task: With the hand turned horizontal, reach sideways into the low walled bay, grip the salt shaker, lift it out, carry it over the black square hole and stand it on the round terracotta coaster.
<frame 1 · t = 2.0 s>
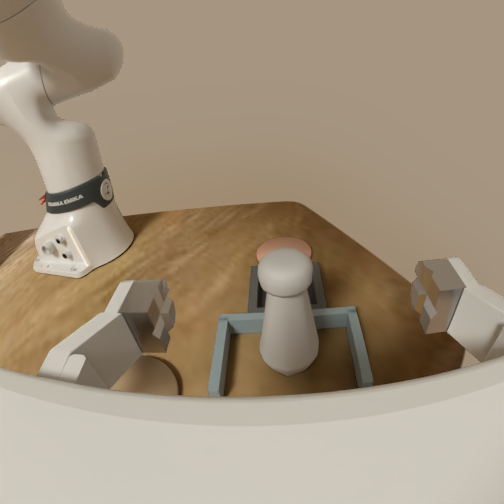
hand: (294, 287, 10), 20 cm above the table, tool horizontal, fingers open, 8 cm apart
cork trivet: (135, 398, 29), on the table
salt shaker: (289, 360, 31), on the table
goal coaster: (284, 255, 47), on the table
hole frame: (286, 295, 39), on the table
cubby bay: (289, 359, 31), on the table
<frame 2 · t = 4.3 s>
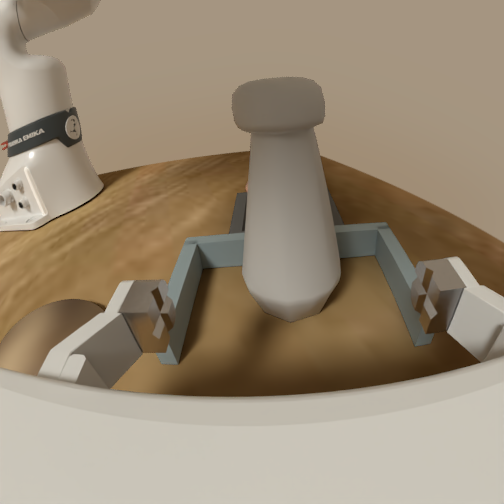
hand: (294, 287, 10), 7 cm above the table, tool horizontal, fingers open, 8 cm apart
cork trivet: (52, 356, 17), on the table
salt shaker: (293, 300, 20), on the table
hole frame: (285, 223, 28), on the table
cubby bay: (293, 298, 20), on the table
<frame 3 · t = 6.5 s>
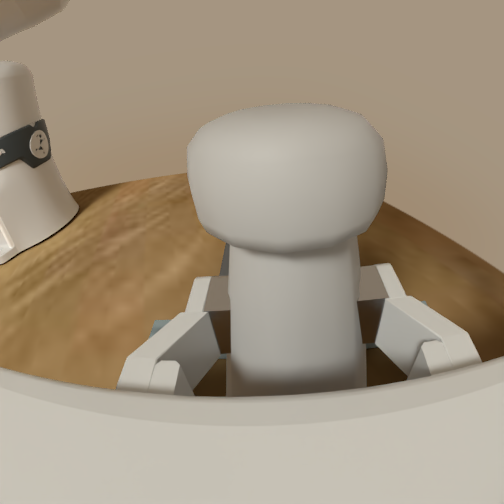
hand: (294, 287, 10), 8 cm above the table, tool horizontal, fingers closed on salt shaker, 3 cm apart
salt shaker: (297, 422, 13), on the table, touching gripper
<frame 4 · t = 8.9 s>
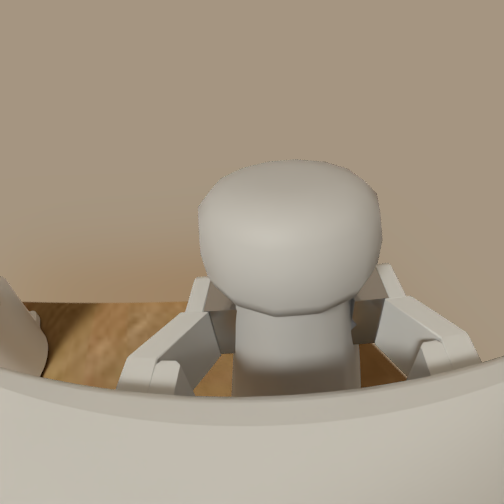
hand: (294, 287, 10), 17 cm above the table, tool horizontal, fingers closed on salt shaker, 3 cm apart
salt shaker: (296, 432, 14), point 7 cm above the table, touching gripper
when the fingers open (10 cm above the table, at t = 11.1 s): salt shaker stays where it is, resting on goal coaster.
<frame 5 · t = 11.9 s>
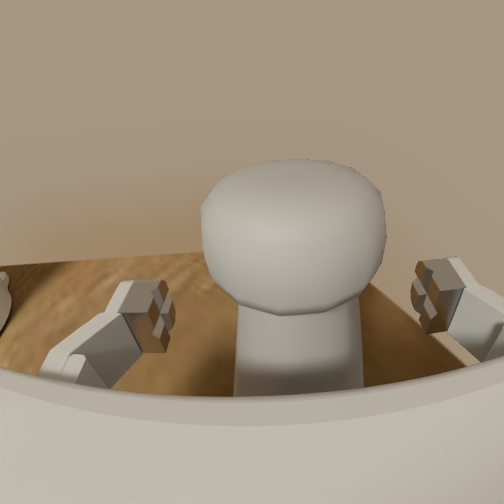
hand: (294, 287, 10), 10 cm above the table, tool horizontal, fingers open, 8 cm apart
salt shaker: (298, 435, 14), resting on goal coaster
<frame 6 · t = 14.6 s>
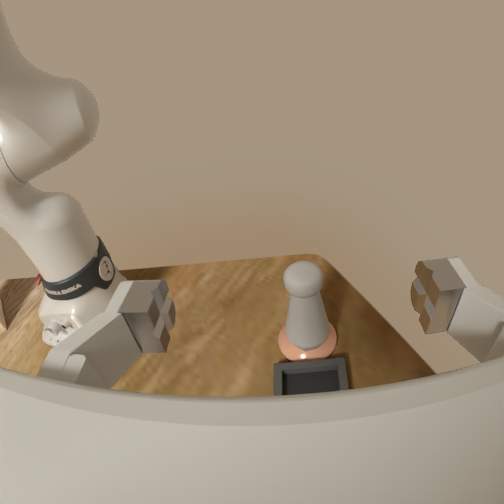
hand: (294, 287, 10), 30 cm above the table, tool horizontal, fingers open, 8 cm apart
salt shaker: (307, 339, 42), resting on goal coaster
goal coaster: (307, 340, 42), on the table
hole frame: (311, 397, 35), on the table
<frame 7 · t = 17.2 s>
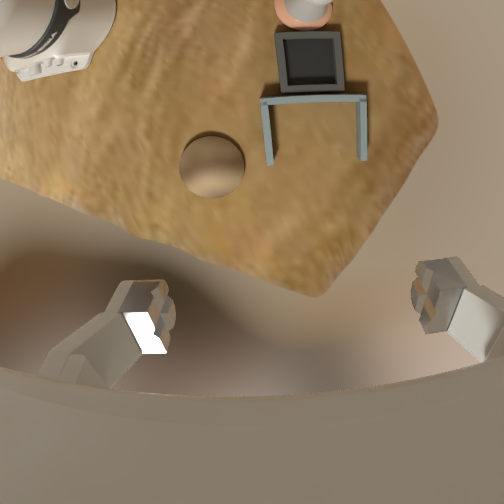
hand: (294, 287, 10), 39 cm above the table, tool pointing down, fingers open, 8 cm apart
cork trivet: (212, 166, 48), on the table
salt shaker: (303, 6, 33), resting on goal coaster
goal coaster: (303, 6, 33), on the table
hole frame: (309, 61, 38), on the table
cubby bay: (314, 126, 43), on the table
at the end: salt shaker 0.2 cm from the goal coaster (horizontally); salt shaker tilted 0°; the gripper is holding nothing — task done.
